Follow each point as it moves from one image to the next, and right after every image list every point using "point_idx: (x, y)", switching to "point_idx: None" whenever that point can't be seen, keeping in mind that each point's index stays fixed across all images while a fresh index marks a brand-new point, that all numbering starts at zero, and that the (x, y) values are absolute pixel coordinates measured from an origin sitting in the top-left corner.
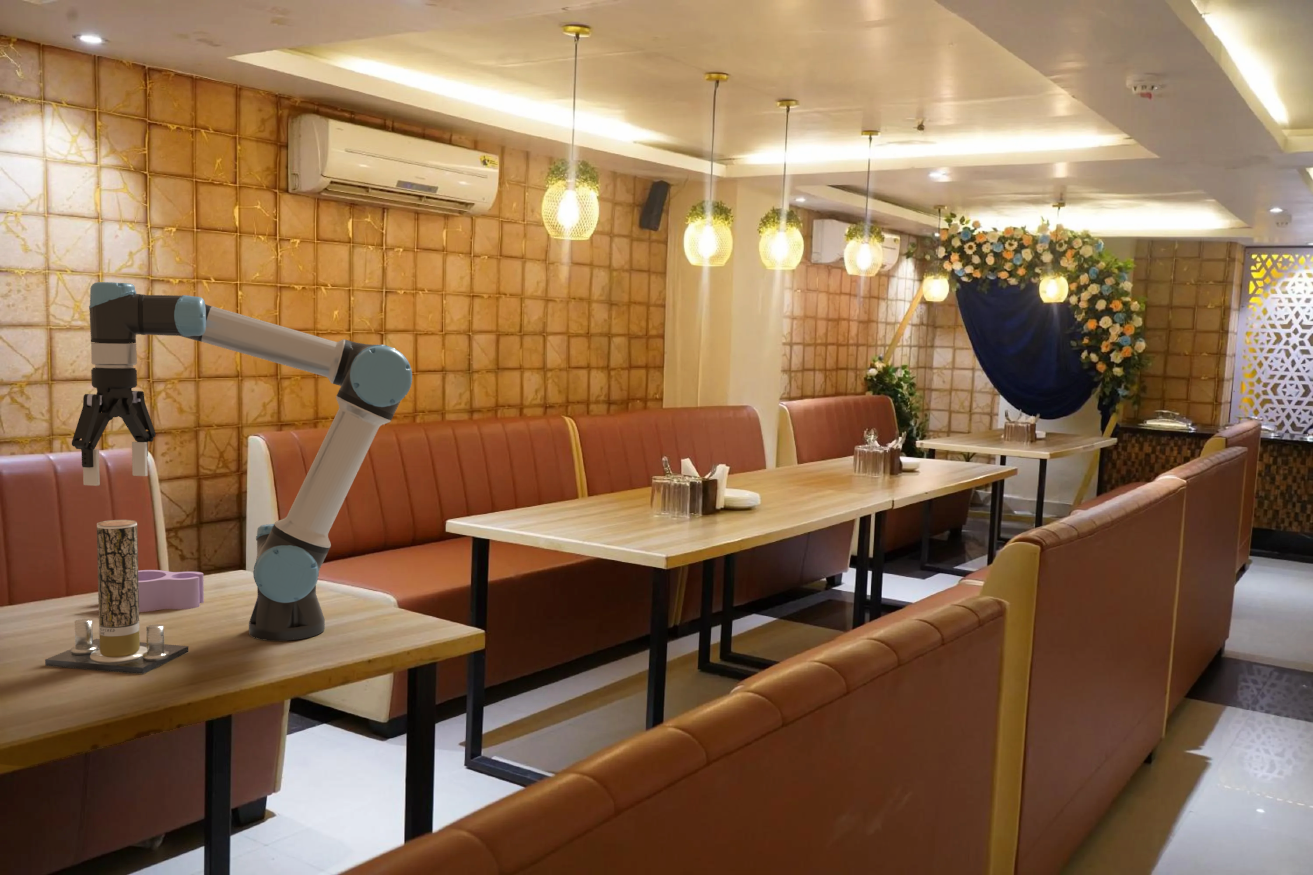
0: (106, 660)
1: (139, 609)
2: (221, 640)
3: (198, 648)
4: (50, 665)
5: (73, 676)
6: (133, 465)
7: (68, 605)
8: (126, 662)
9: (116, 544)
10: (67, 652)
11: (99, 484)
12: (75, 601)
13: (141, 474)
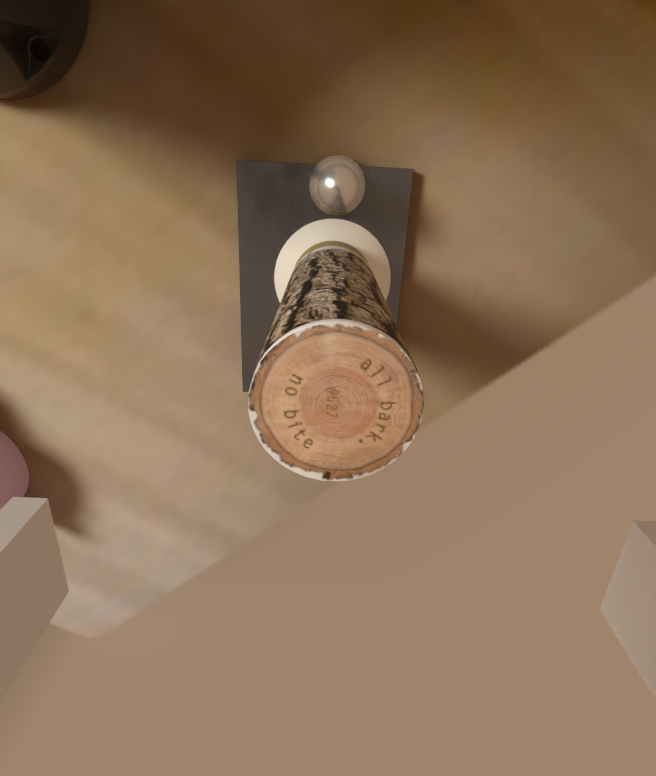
0: (386, 275)
1: (10, 446)
2: (128, 132)
3: (205, 153)
4: None
5: (441, 303)
6: (17, 659)
7: None
8: (381, 230)
9: (401, 336)
10: None
11: (637, 525)
12: None
13: (46, 536)
